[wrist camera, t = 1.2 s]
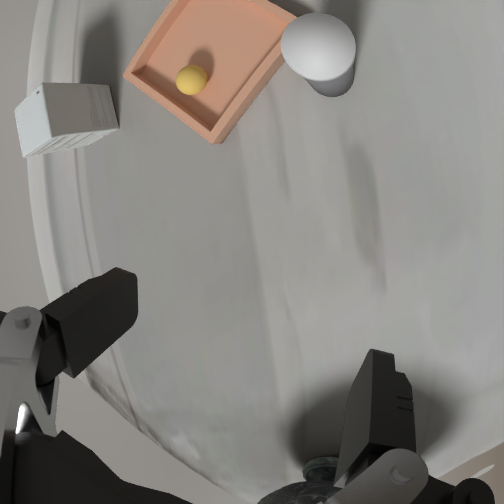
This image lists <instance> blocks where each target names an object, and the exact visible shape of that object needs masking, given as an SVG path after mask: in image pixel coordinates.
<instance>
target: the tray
mask: <svg viewBox="0 0 504 504" xmlns="http://www.w3.org/2000/svg"><path fill="white" fill-rule="evenodd" d="M296 18H298V17H296V16H294V15H293V14H291V13H289V12H287V11H286V10H284V9H282V8H280V7H279V6H277V5H275V4H273V3H271V2H269V1H268V0H172V1H171V2H170V3H169V5H168V6H167V7H166V9H165V10H164V12H163V13H162V14H161V16H160V17H159V19H158V20H157V22H156V23H155V24H154V26H153V27H152V29H151V30H150V32H149V33H148V35H147V37H146V38H145V40H144V41H143V43H142V44H141V46H140V48H139V49H138V51H137V52H136V54H135V56H134V57H133V59H132V61H131V62H130V64H129V66H128V67H127V69H126V71H125V73H124V74H123V76H122V77H124V78H125V79H127V80H128V81H129V82H131V83H132V84H134V85H135V86H136V87H138V88H139V89H140V90H142V91H143V92H145V93H146V94H147V95H149V96H150V97H151V98H153V99H154V100H155V101H157V102H158V103H159V104H161V105H162V106H163V107H165V108H166V109H167V110H169V111H170V112H171V113H173V114H174V115H175V116H177V117H178V118H179V119H180V120H182V121H183V122H184V123H186V124H187V125H188V126H189V127H191V128H192V129H193V130H195V131H196V132H197V133H198V134H200V135H201V136H202V137H204V138H205V139H206V140H207V141H209V142H210V143H211V144H221V143H223V141H224V140H225V139H226V137H227V136H228V134H229V133H230V132H231V130H232V129H233V128H234V126H235V125H236V123H237V122H238V121H239V119H240V118H241V117H242V115H243V114H244V113H245V111H246V110H247V109H248V107H249V106H250V105H251V103H252V102H253V101H254V99H255V98H256V97H257V96H258V94H259V93H260V92H261V90H262V89H263V88H264V87H265V85H266V84H267V83H268V81H269V80H270V79H271V78H272V76H273V75H274V74H275V73H276V71H277V70H278V69H279V68H280V66H281V65H282V64H283V63H284V62H285V59H284V57H283V55H282V51H281V38H282V34H283V32H284V30H285V28H286V27H287V26H288V25H289V24H290V23H291V22H292V21H293V20H294V19H296ZM188 65H196V66H199V67H201V68H202V69H203V70H204V71H205V72H206V74H207V78H208V80H207V85H206V87H205V88H204V89H203V90H202V91H201V92H200V93H198V94H194V95H187V94H184V93H182V92H181V91H180V90H179V89H178V88H177V85H176V76H177V74H178V72H179V71H180V70H181V69H182V68H184V67H185V66H188Z"/></svg>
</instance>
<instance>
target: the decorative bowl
mask: <svg viewBox="0 0 504 504" xmlns="http://www.w3.org/2000/svg"><path fill="white" fill-rule="evenodd" d="M338 459H339V457H320V458H315V459H312V460H310V461H309V462H307V463H306V464H305V466H304V468H303V471H302V472H303V477H304V479H305V480H306V481H304V482H298V483H293V484H290V485H287V486H285V487H282V488H281V489H279V490H276V491H274V492H272V493H270V494H268V495H267V496H265V497H264V498H262V499H261V500H260V501H259V502H258V503H257V504H317V503H319V502H321V501H326V500H327V499H329V498H330V497H332V496H333V495H334V494H336V493H337V492H338V491H340V490H341V489H342V488H340V487H335V486H333V485H334V480H335V475H336V469H337V464H338Z"/></svg>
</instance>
